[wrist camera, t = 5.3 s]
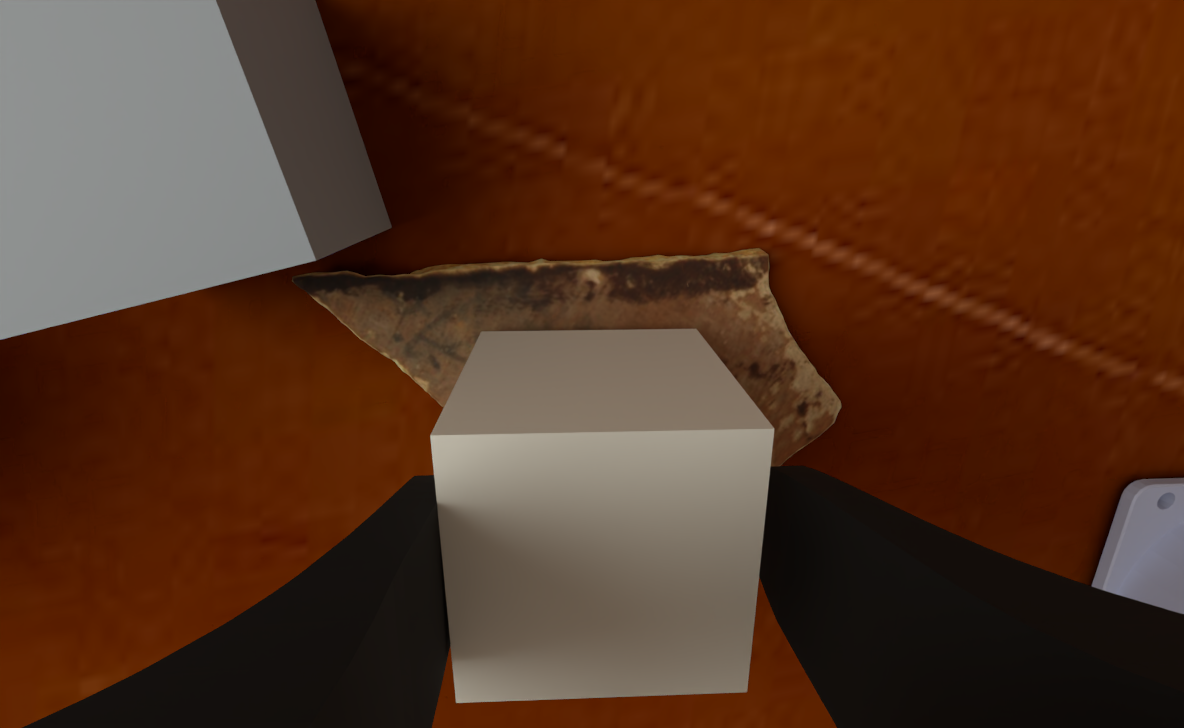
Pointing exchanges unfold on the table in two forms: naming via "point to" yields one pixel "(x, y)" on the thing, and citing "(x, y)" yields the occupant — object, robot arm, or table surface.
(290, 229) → the slate block
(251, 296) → the table surface
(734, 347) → the shard
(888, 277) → the table surface
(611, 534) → the cream block
